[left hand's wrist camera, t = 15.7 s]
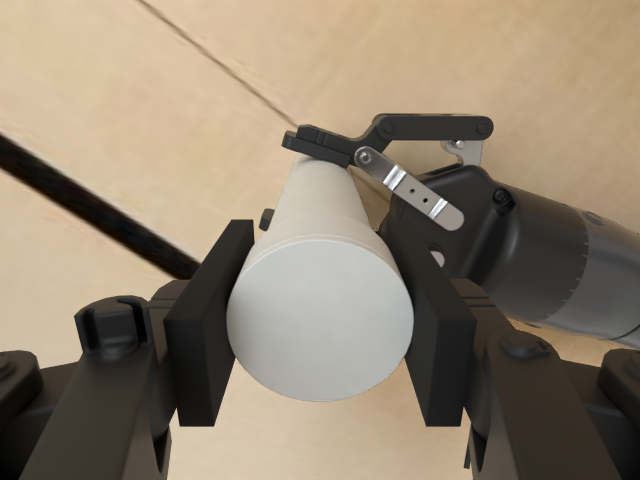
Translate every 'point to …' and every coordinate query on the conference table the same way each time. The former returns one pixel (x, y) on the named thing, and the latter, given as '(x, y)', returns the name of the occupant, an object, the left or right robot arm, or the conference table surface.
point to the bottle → (319, 191)
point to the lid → (319, 309)
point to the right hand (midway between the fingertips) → (274, 179)
